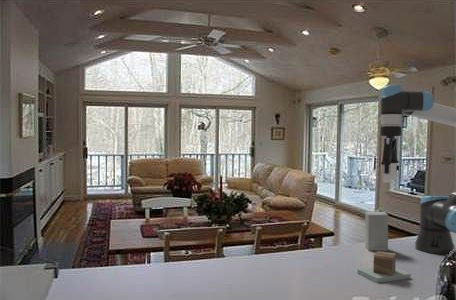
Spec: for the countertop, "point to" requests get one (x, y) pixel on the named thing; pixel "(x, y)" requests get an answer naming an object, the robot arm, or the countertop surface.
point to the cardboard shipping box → (384, 263)
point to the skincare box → (376, 231)
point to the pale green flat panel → (383, 275)
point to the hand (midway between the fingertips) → (389, 180)
